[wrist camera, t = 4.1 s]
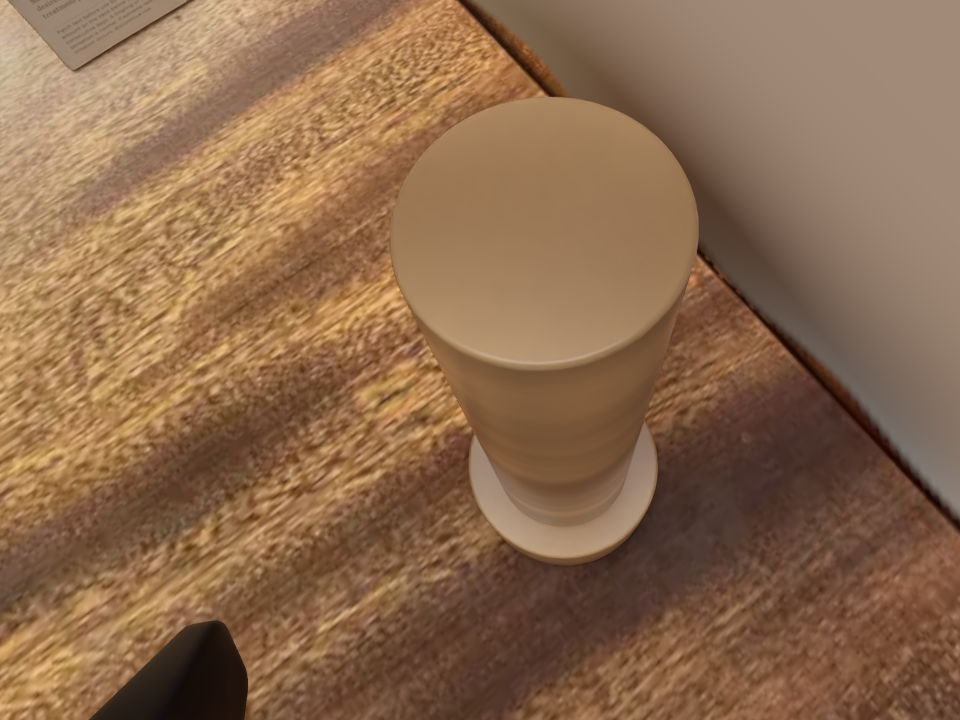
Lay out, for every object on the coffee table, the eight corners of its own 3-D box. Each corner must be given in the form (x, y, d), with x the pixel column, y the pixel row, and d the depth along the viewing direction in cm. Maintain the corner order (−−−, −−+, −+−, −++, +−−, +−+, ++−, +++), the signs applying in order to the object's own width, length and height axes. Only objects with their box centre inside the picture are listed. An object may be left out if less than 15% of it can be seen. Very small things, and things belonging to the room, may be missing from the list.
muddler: (665, 554, 19) (834, 408, 6) (488, 575, 19) (326, 476, 7) (633, 384, 20) (720, 6, 8) (470, 407, 20) (312, 78, 8)
